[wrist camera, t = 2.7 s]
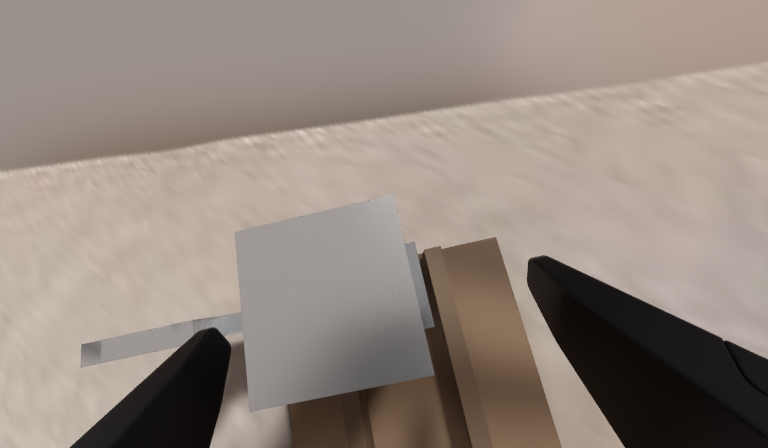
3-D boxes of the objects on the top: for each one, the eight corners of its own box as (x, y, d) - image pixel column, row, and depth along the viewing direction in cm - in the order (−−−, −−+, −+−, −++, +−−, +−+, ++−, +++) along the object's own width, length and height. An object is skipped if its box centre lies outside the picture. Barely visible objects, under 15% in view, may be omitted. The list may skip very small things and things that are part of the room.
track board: (574, 518, 13) (614, 575, 10) (319, 561, 13) (296, 624, 11) (489, 240, 16) (504, 231, 13) (285, 286, 16) (262, 285, 14)
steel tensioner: (433, 324, 14) (486, 427, 4) (184, 375, 14) (-365, 584, 4) (414, 244, 15) (414, 147, 4) (181, 296, 15) (-273, 314, 5)
